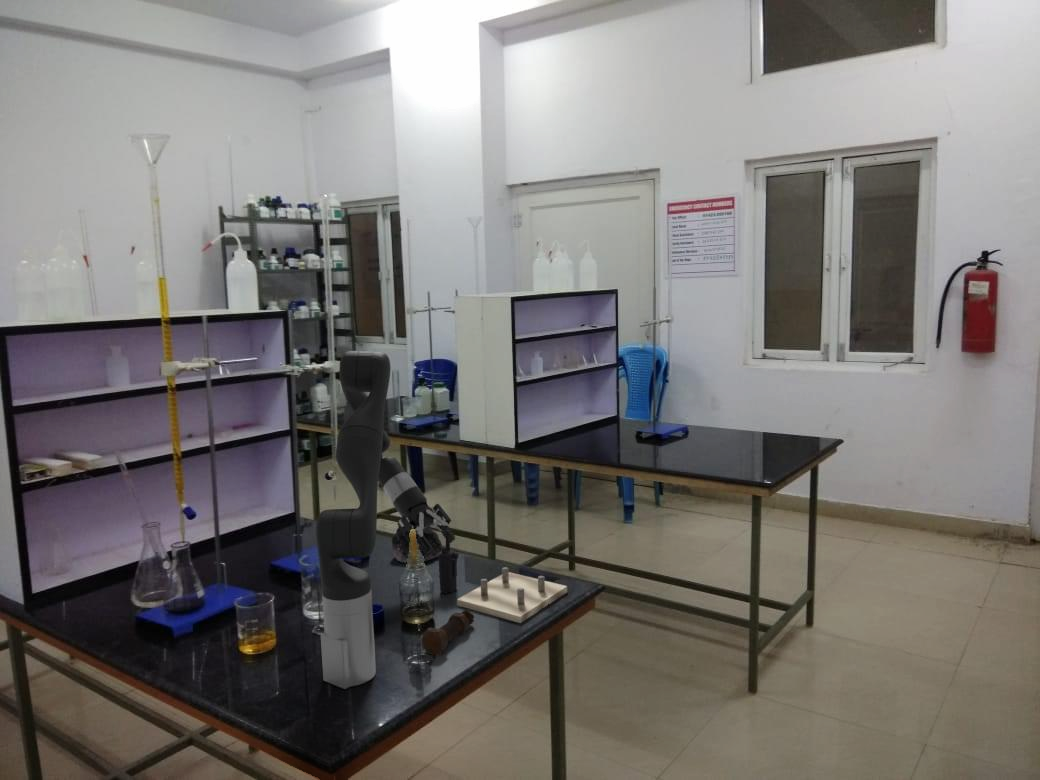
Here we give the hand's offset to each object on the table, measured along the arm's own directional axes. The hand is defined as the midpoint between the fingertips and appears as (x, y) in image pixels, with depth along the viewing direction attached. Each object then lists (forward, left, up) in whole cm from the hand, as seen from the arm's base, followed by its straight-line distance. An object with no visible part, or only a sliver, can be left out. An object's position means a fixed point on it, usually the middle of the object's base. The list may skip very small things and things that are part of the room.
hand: (441, 546), depth 189 cm
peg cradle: (+4, -18, -11) cm, 22 cm away
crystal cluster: (+14, +21, -11) cm, 28 cm away
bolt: (-20, -19, -11) cm, 30 cm away
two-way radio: (0, -2, -11) cm, 11 cm away
